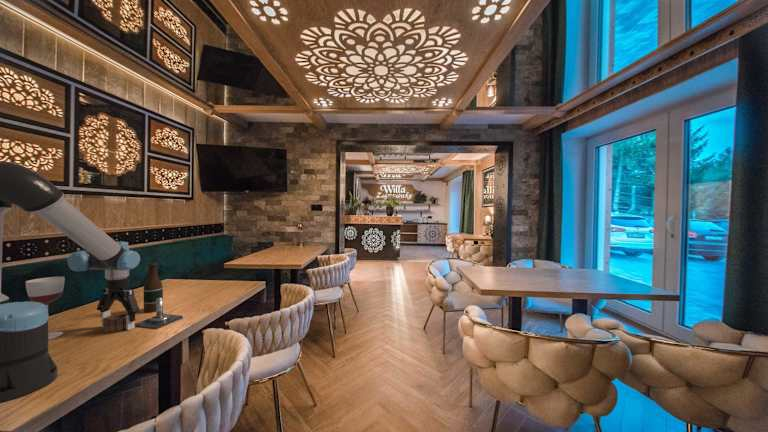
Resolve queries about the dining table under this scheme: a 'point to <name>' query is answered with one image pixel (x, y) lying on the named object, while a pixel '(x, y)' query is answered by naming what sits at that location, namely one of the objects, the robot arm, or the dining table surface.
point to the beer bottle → (152, 289)
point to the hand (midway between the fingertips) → (118, 327)
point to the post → (159, 317)
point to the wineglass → (46, 293)
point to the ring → (115, 323)
